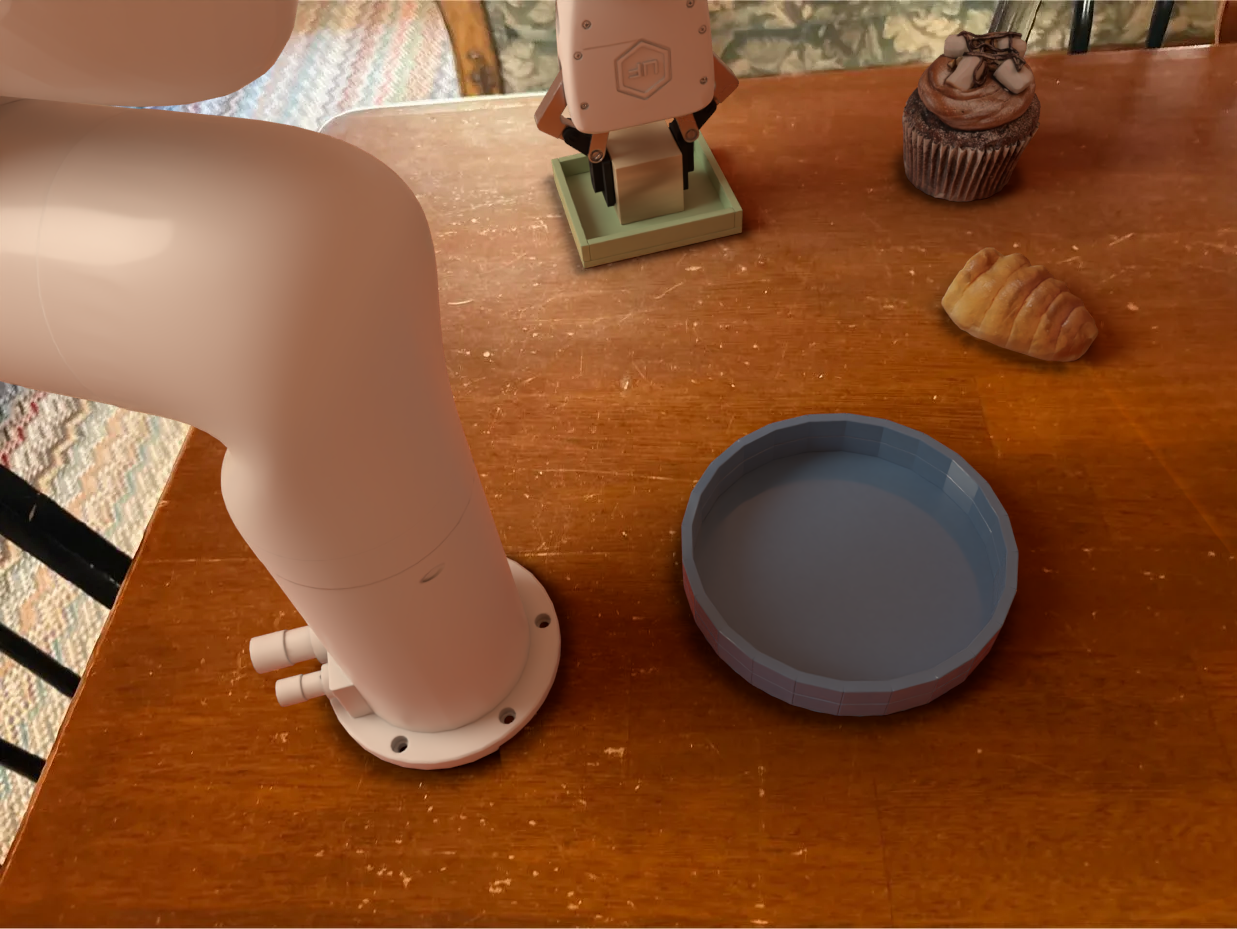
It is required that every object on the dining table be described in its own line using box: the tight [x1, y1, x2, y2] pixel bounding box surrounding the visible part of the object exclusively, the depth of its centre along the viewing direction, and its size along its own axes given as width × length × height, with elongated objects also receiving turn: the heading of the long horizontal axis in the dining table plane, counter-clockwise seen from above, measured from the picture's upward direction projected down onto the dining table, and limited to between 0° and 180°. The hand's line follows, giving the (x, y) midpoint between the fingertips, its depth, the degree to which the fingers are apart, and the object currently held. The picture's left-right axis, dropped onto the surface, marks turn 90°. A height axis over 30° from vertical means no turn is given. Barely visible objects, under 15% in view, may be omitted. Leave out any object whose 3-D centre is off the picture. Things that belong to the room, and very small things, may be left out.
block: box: [606, 120, 684, 225], centre depth 71 cm, size 5×5×5 cm
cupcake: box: [901, 30, 1042, 203], centre depth 69 cm, size 10×10×10 cm
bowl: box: [680, 412, 1020, 717], centre depth 51 cm, size 17×17×4 cm
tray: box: [550, 129, 744, 269], centre depth 72 cm, size 12×11×2 cm
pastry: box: [941, 246, 1099, 363], centre depth 61 cm, size 9×7×4 cm
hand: (643, 185), depth 72 cm, fingers closed on block, 5 cm apart
